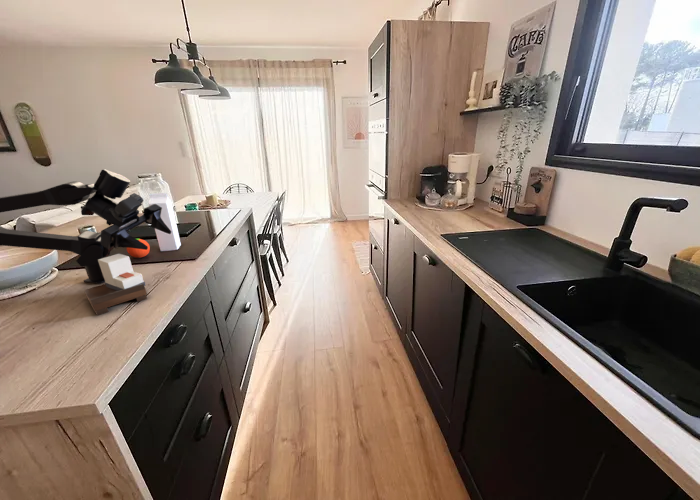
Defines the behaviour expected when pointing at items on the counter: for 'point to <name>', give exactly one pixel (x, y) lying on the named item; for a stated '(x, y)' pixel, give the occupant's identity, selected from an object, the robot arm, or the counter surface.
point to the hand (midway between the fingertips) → (159, 240)
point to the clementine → (139, 250)
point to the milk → (166, 222)
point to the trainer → (119, 272)
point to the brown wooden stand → (113, 296)
